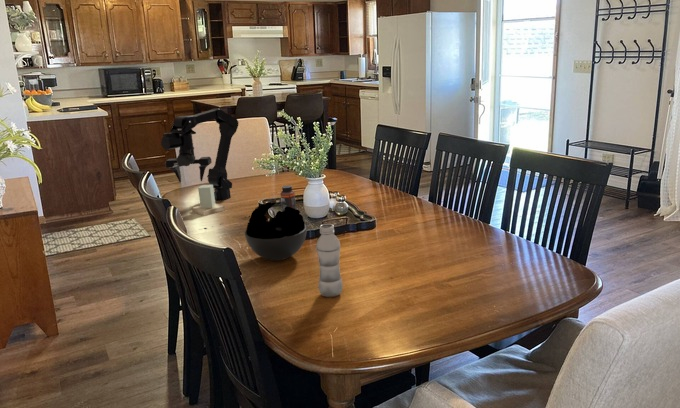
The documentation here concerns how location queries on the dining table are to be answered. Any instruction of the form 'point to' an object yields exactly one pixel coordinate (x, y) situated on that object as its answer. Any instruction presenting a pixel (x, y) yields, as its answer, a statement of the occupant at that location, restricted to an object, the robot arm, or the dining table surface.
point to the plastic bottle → (329, 262)
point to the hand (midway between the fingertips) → (191, 181)
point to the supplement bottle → (288, 197)
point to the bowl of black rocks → (275, 232)
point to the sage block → (206, 196)
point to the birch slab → (208, 210)
